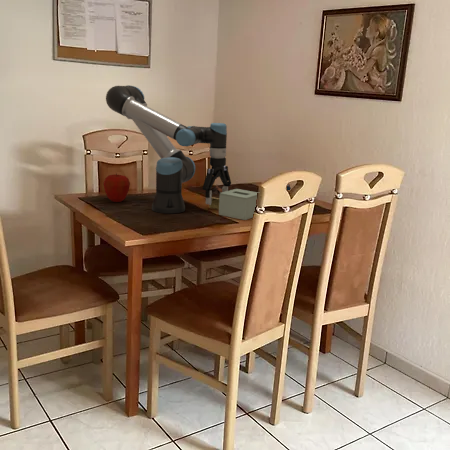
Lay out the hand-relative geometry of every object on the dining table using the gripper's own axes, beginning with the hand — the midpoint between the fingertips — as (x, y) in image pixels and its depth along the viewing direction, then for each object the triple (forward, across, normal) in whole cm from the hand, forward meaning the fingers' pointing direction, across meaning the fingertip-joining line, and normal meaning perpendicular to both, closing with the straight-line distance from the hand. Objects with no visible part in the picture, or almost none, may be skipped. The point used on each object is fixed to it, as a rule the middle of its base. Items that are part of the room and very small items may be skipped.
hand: (216, 201), depth 251 cm
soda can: (+4, +22, -23) cm, 32 cm away
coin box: (+4, -2, -14) cm, 15 cm away
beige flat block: (+3, 0, +1) cm, 3 cm away
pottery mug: (+3, +16, +11) cm, 19 cm away
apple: (+2, -23, +43) cm, 49 cm away
